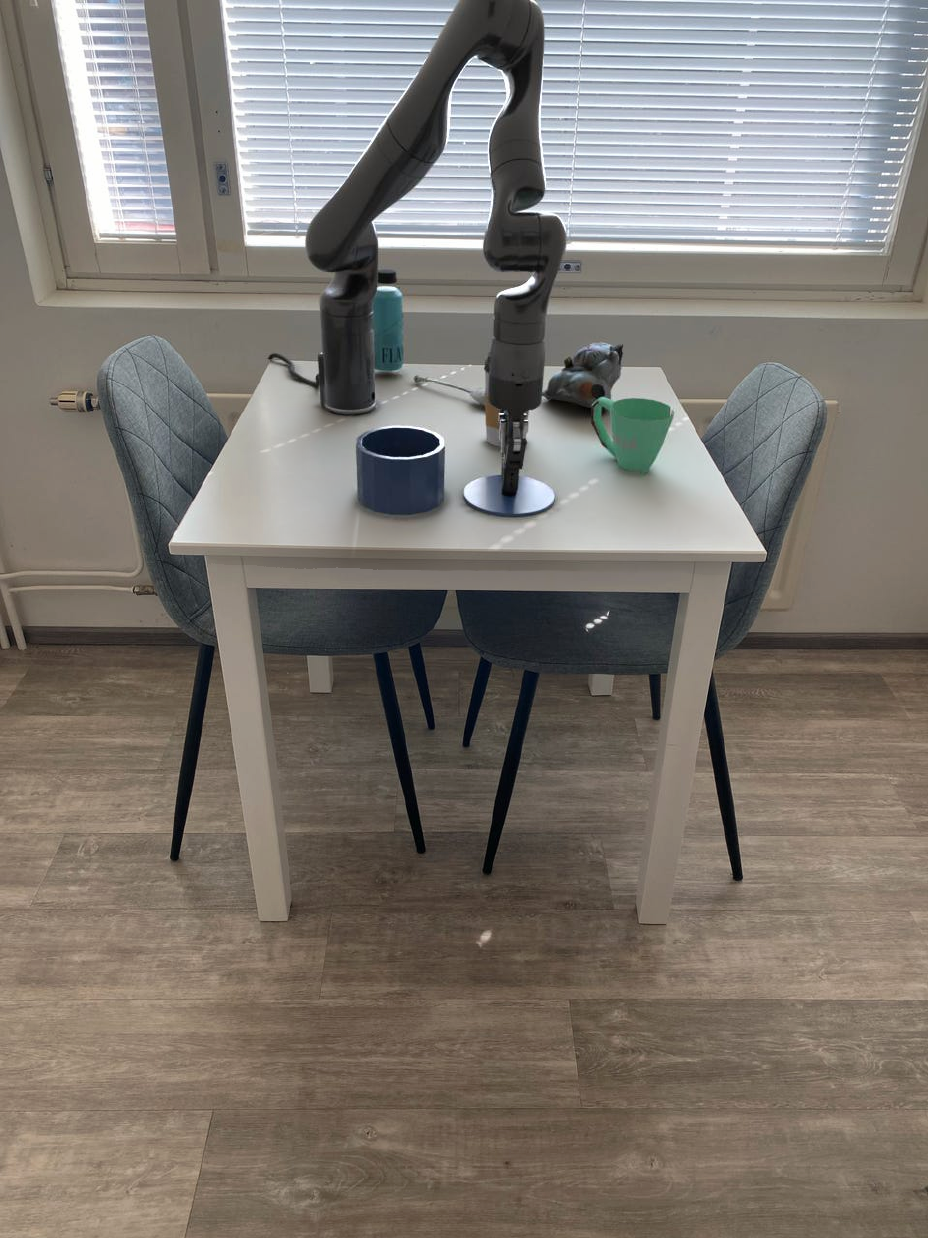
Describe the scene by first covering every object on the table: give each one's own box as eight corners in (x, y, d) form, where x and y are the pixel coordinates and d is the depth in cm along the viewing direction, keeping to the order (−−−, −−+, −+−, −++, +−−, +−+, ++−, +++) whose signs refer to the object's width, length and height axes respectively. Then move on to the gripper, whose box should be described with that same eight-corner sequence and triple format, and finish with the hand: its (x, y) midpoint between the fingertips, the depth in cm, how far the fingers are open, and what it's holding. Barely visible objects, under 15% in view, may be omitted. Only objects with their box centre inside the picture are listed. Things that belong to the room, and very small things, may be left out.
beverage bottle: (379, 380, 178) (376, 274, 167) (366, 370, 183) (363, 267, 172) (409, 376, 180) (408, 272, 169) (395, 366, 185) (394, 265, 174)
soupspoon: (493, 417, 164) (514, 410, 169) (495, 399, 162) (517, 392, 167) (405, 385, 175) (427, 379, 179) (406, 368, 173) (428, 362, 178)
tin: (356, 518, 127) (353, 458, 122) (360, 481, 137) (358, 425, 133) (444, 518, 128) (446, 459, 123) (442, 481, 138) (443, 426, 133)
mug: (676, 470, 145) (687, 410, 139) (638, 486, 139) (647, 424, 134) (607, 443, 154) (614, 386, 148) (568, 457, 148) (574, 398, 143)
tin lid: (465, 520, 127) (466, 482, 124) (461, 480, 139) (462, 444, 136) (560, 520, 128) (563, 482, 125) (548, 481, 140) (551, 445, 136)
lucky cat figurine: (533, 394, 173) (562, 324, 170) (587, 418, 176) (616, 350, 174) (555, 397, 159) (587, 322, 156) (613, 424, 162) (645, 350, 160)
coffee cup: (525, 455, 148) (532, 365, 140) (476, 449, 149) (480, 360, 141) (532, 437, 155) (539, 350, 147) (485, 432, 156) (489, 345, 148)
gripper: (485, 354, 128) (480, 467, 138) (493, 386, 117) (487, 506, 126) (537, 355, 129) (529, 467, 138) (550, 387, 117) (539, 507, 127)
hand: (509, 485), depth 132 cm, fingers closed on tin lid, 2 cm apart
